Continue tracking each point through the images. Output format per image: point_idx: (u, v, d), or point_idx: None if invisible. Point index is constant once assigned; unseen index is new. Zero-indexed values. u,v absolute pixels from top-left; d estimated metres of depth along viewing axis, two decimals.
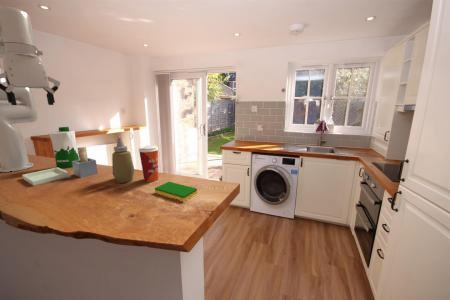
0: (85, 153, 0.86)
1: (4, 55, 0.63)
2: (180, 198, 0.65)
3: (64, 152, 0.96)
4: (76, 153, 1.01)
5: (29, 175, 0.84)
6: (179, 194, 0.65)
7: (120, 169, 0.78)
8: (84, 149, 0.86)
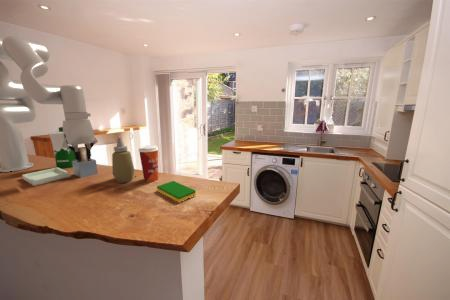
0: (85, 153, 0.86)
1: (64, 122, 0.79)
2: (176, 199, 0.64)
3: (64, 152, 0.96)
4: None
5: (29, 175, 0.84)
6: (175, 195, 0.65)
7: (120, 169, 0.78)
8: (84, 149, 0.86)
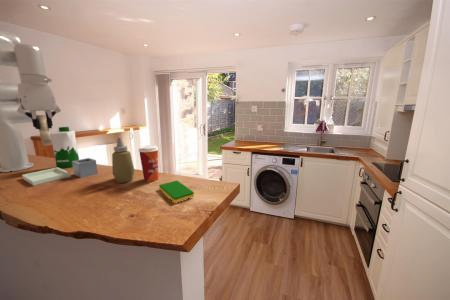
0: (45, 121, 0.80)
1: (19, 84, 0.73)
2: (172, 199, 0.64)
3: (64, 152, 0.96)
4: (76, 153, 1.01)
5: (29, 175, 0.84)
6: (172, 195, 0.65)
7: (120, 169, 0.78)
8: (44, 117, 0.79)
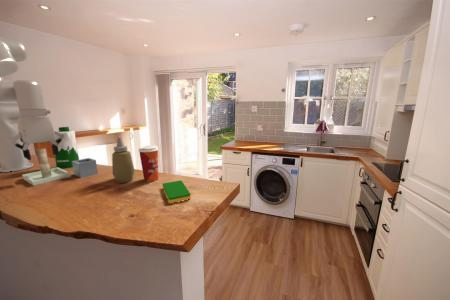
0: (45, 155, 0.82)
1: (19, 119, 0.75)
2: (168, 199, 0.64)
3: (64, 152, 0.96)
4: (76, 153, 1.01)
5: (29, 175, 0.84)
6: (169, 195, 0.65)
7: (120, 169, 0.78)
8: (43, 151, 0.81)
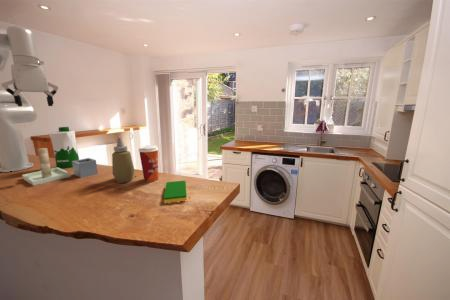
0: (46, 155, 0.82)
1: (12, 65, 0.77)
2: (164, 198, 0.65)
3: (64, 152, 0.96)
4: (76, 153, 1.01)
5: (29, 175, 0.84)
6: (165, 194, 0.65)
7: (120, 169, 0.78)
8: (45, 150, 0.82)
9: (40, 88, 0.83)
